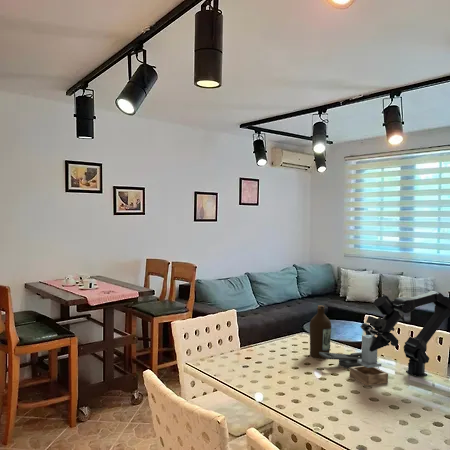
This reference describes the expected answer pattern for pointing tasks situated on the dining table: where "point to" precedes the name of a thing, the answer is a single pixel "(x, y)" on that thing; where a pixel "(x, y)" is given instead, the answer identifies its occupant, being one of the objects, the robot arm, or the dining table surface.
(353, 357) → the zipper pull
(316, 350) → the olive oil
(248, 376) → the dining table surface
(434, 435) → the dining table surface
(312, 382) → the dining table surface
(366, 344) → the bracket post
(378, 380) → the well
